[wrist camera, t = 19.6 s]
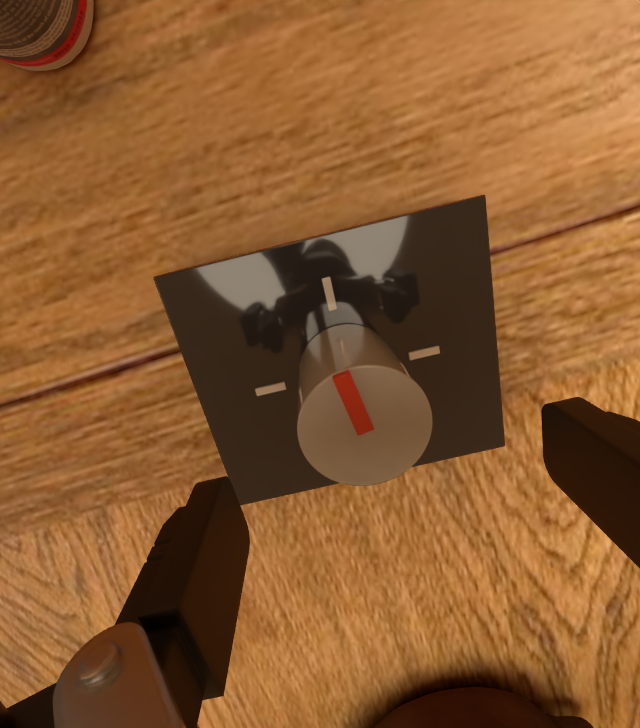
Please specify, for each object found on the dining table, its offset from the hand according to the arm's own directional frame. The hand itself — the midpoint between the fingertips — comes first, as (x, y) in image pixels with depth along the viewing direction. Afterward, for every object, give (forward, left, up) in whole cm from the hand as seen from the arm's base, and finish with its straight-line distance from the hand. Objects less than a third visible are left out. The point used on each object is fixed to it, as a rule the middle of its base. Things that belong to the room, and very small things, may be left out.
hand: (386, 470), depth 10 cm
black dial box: (0, 0, -11) cm, 11 cm away
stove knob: (0, 0, -8) cm, 8 cm away
